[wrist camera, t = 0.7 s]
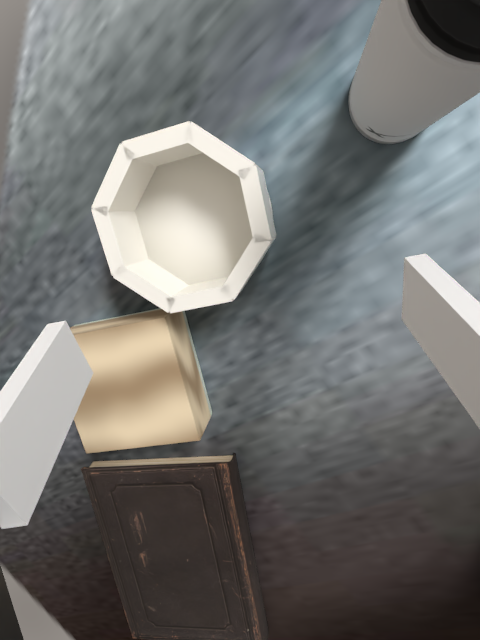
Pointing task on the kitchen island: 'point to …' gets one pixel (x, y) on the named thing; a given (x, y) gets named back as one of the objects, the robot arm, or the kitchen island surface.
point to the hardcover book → (179, 547)
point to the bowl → (183, 218)
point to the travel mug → (415, 67)
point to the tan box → (140, 383)
